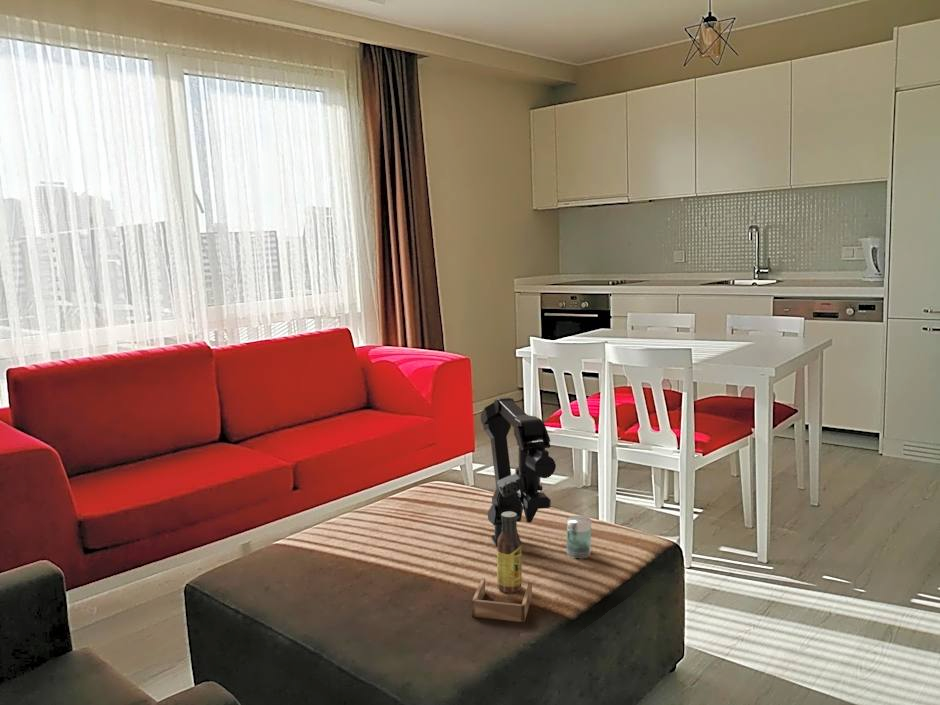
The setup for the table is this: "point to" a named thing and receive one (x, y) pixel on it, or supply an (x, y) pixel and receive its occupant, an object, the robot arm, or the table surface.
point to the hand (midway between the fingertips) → (528, 522)
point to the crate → (500, 606)
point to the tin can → (578, 536)
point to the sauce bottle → (509, 555)
